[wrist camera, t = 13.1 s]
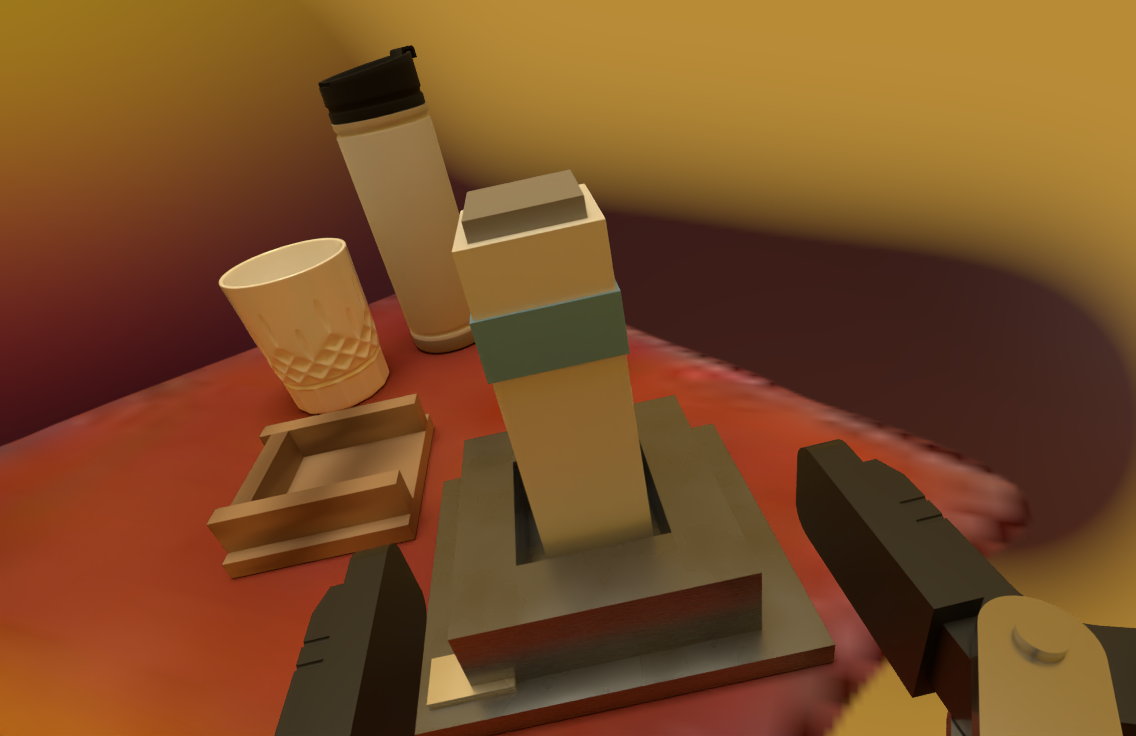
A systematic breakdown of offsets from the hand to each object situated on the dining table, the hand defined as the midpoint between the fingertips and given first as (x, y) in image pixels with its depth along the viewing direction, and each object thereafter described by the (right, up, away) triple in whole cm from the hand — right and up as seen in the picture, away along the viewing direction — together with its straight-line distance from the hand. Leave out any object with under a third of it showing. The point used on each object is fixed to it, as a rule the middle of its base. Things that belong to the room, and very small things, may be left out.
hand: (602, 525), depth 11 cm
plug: (+1, -4, +12) cm, 13 cm away
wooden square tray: (-13, -4, +19) cm, 24 cm away
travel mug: (-10, +6, +34) cm, 36 cm away
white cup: (-17, +1, +30) cm, 35 cm away
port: (+1, -5, +13) cm, 14 cm away
